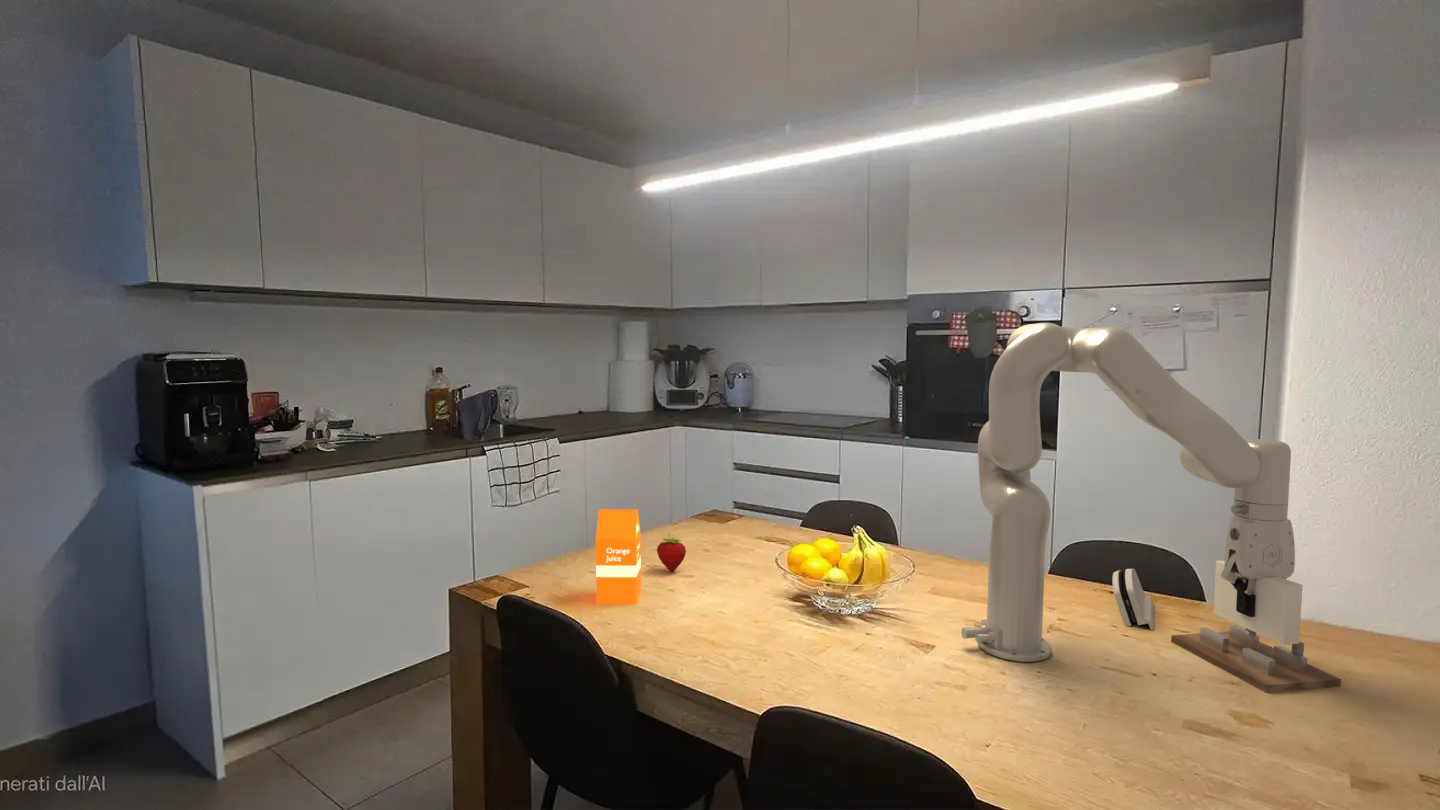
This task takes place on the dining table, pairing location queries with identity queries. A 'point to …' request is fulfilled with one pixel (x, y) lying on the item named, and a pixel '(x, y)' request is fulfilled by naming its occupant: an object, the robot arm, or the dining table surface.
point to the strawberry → (671, 553)
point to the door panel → (1263, 606)
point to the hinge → (1132, 599)
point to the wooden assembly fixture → (1256, 659)
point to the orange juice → (618, 557)
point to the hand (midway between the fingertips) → (1254, 612)
